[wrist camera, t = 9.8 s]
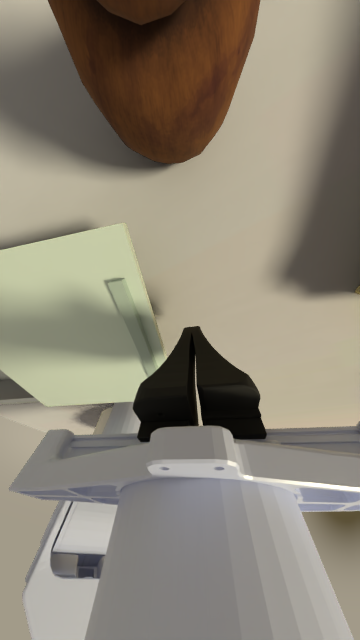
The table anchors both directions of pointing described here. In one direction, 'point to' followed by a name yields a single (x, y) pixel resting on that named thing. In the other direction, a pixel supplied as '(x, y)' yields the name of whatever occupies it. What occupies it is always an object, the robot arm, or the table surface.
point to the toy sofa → (358, 290)
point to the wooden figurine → (160, 66)
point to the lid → (77, 319)
